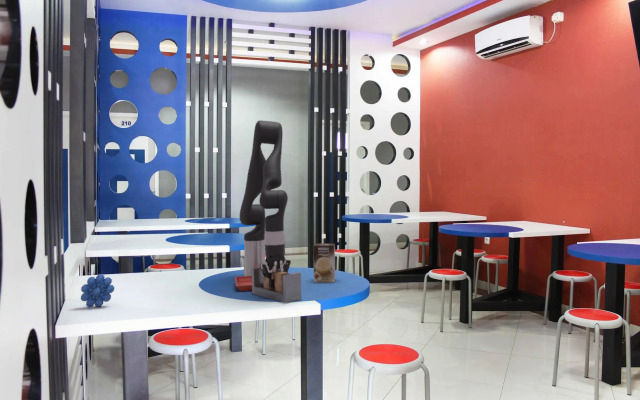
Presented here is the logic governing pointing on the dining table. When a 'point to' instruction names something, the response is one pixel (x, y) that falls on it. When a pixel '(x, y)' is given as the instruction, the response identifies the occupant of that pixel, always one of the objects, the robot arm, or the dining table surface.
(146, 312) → the dining table surface
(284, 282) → the grey desk caddy
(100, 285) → the blue knobby flower
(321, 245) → the coffee box
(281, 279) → the door panel
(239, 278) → the plant saucer
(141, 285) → the dining table surface
